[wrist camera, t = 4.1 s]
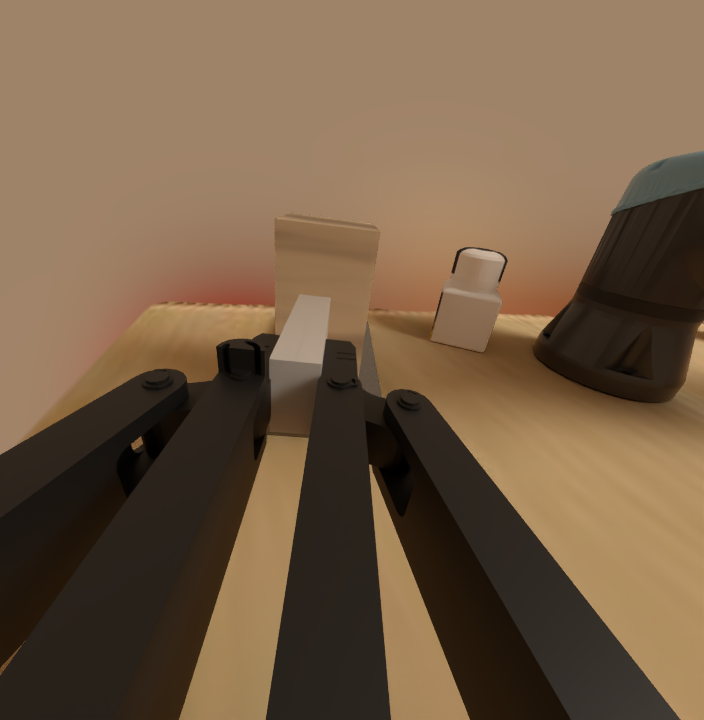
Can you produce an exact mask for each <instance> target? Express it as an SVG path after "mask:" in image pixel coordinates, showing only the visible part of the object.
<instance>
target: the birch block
mask: <svg viewBox="0 0 704 720" xmlns="http://www.w3.org/2000/svg"><path fill="white" fill-rule="evenodd" d="M379 236H380V231H379V230H378V229H377V228H376V227H375V226H374V225H373V224H372V223H366V222H358V221H350V220H341V219H334V218H326V217H318V216H310V215H302V214H294V213H290V214H287V215H285V216H281V217H278V218H275V335H281V333H282V331H283V329H284V326H285V324H286V322H287V320H288V318H289V316H290V314H291V312H292V309H293V307H294V305H295V303H296V301H297V299H298V297H299V295H300V294H302V295H311V296H320V297H329V298H331V302H330V313H329V324H328V335H327V339H332V340H341V341H350V342H351V343H352V344H353V345H354V346H355V347H356V357H357V371H358V378H359V371H360V364H361V358H362V351H363V344H364V338H365V331H366V324H367V318H368V311H369V304H370V297H371V291H372V284H373V277H374V271H375V264H376V257H377V251H378V244H379Z"/></svg>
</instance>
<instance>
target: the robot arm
mask: <svg viewBox="0 0 704 720" xmlns="http://www.w3.org/2000/svg"><path fill="white" fill-rule="evenodd" d="M611 216H612V218H611V220H610V222H609V224H608V226H607V228H606V230H605V233H604V235H603V237H602V239H601V241H600V243H599V245H598V247H597V249H596V252H595V254H594V256H593V258H592V260H591V262H590V264H589V266H588V268H587V270H586V272H585V274H584V276H583V278H582V280H581V282H580V284H579V287H578V289H577V291H576V293H575V294H574V296H573V298H572V299H571V301H570V302H569V303H568V304H567V305H566V306H565V307H564V308H563V309H562V310H561V311H560V312H559V313H558V314H557V315H556V316H555V318H554V319H553V320H552V321H551V322H550V323H549V324H548V325H547V326H546V327H545V328H544V329H543V330H542V331H541V333H540V334H539V336H538V338H537V340H536V343H535V345H534V347H533V351H534V353H535V355H536V356H537V357H538V358H539V359H540V360H541V361H542V362H543V363H544V364H546V365H547V366H549V367H550V368H552V369H553V370H555V371H557V372H558V373H560V374H562V375H564V376H566V377H568V378H570V379H572V380H574V381H576V382H579V383H581V384H583V385H586V386H588V387H591V388H594V389H597V390H599V391H602V392H606V393H609V394H612V395H616V396H619V397H623V398H628V399H633V400H638V401H645V402H666V401H669V400H671V399H673V397H674V396H675V395H676V393H677V392H678V391H679V390H680V388H681V387H682V386H683V384H684V382H685V380H686V376H687V372H688V367H689V363H690V358H691V354H692V349H693V345H694V340H695V336H696V332H697V330H698V328H699V326H700V325H701V323H702V322H703V321H704V151H701V152H694V153H689V154H684V155H679V156H674V157H670V158H666V159H663V160H660V161H657V162H654V163H652V164H650V165H648V166H646V167H645V168H643V169H642V170H640V171H639V172H638V173H637V174H636V175H635V176H634V177H633V178H632V180H631V181H630V183H629V185H628V187H627V189H626V190H625V192H624V194H623V196H622V198H621V200H620V201H619V203H618V205H617V207H616V208H615V209H614V210H613V211H612V213H611ZM330 302H331V298H329V297H320V296H311V295H302V294H300V295H299V297H298V299H297V301H296V303H295V305H294V307H293V309H292V312H291V314H290V316H289V318H288V320H287V322H286V324H285V326H284V329H283V331H282V333H281V335H274V334H264V333H262V334H260V335H258V336H256V337H254V338H253V339H252V340H251V339H233V340H228V341H225V342H222V343H220V344H219V345H217V346H216V349H217V358H218V368H219V372H218V374H217V375H216V377H215V378H214V379H213V380H212V381H206V382H196V383H187V378H186V376H185V375H184V373H183V372H180V371H178V370H173V369H155V370H153V371H148V372H145V373H143V374H140V375H138V376H136V377H134V378H132V379H131V380H129V381H127V382H126V383H124V384H122V385H120V386H119V387H117V388H115V389H113V390H112V391H110V392H108V393H107V394H105V395H103V396H101V397H100V398H98V399H96V400H94V401H93V402H91V403H89V404H88V405H86V406H84V407H82V408H81V409H79V410H77V411H75V412H74V413H72V414H70V415H68V416H67V417H65V418H63V419H62V420H60V421H58V422H56V423H55V424H53V425H51V426H49V427H48V428H46V429H44V430H43V431H41V432H39V433H37V434H36V435H34V436H32V437H30V438H29V439H27V440H25V441H23V442H22V443H20V444H18V445H17V446H15V447H13V448H11V449H10V450H8V451H6V452H5V453H3V454H1V455H0V667H1V666H2V665H3V664H4V663H5V662H6V661H7V660H8V659H9V658H10V657H11V655H12V654H13V653H14V652H15V651H16V650H17V649H18V648H19V647H20V646H21V645H22V644H23V643H24V644H23V645H22V646H21V648H20V649H19V650H18V652H17V653H16V655H15V656H14V657H13V659H12V660H11V662H10V663H9V664H8V666H7V667H6V669H5V670H4V671H3V673H2V674H1V675H0V720H179V718H180V714H181V711H182V708H183V705H184V702H185V699H186V695H187V692H188V689H189V686H190V683H191V680H192V677H193V673H194V670H195V667H196V664H197V661H198V658H199V654H200V651H201V648H202V645H203V642H204V639H205V635H206V632H207V629H208V626H209V623H210V620H211V616H212V613H213V610H214V607H215V604H216V601H217V598H218V594H219V591H220V588H221V585H222V582H223V579H224V575H225V572H226V569H227V566H228V563H229V560H230V556H231V553H232V550H233V547H234V544H235V541H236V538H237V534H238V531H239V528H240V525H241V522H242V519H243V515H244V512H245V509H246V506H247V503H248V500H249V496H250V493H251V490H252V487H253V484H254V481H255V477H256V474H257V471H258V468H259V465H260V462H261V459H262V455H263V452H264V449H265V446H266V438H267V437H266V430H267V427H268V424H269V421H270V432H281V433H294V434H306V435H309V442H308V448H307V455H306V461H305V468H304V474H303V481H302V487H301V494H300V500H299V507H298V513H297V520H296V526H295V533H294V539H293V546H292V552H291V559H290V565H289V572H288V578H287V585H286V591H285V598H284V604H283V611H282V617H281V624H280V630H279V637H278V643H277V650H276V656H275V663H274V669H273V676H272V682H271V689H270V695H269V702H268V709H267V715H266V720H391V715H390V704H389V692H388V680H387V669H386V657H385V646H384V634H383V623H382V611H381V599H380V588H379V576H378V565H377V553H376V542H375V530H374V518H373V507H372V495H371V484H370V472H369V464H371V465H372V469H373V473H374V475H375V478H376V481H377V483H378V486H379V488H380V491H381V493H382V496H383V498H384V501H385V504H386V506H387V509H388V511H389V514H390V516H391V519H392V521H393V524H394V527H395V529H396V532H397V534H398V537H399V539H400V542H401V544H402V547H403V550H404V552H405V555H406V557H407V560H408V562H409V565H410V567H411V570H412V573H413V575H414V578H415V580H416V583H417V585H418V588H419V590H420V593H421V596H422V598H423V601H424V603H425V606H426V608H427V611H428V613H429V616H430V618H431V621H432V624H433V626H434V629H435V631H436V634H437V636H438V639H439V641H440V644H441V647H442V649H443V652H444V654H445V657H446V659H447V662H448V664H449V667H450V670H451V672H452V675H453V677H454V680H455V682H456V685H457V687H458V690H459V693H460V695H461V698H462V700H463V703H464V705H465V708H466V710H467V713H468V716H469V718H470V720H680V719H679V717H678V716H677V715H676V713H675V712H674V711H673V710H672V708H671V707H670V706H669V705H668V703H667V702H666V701H665V699H664V698H663V697H662V696H661V694H660V693H659V692H658V691H657V689H656V688H655V687H654V685H653V684H652V683H651V682H650V680H649V679H648V678H647V677H646V675H645V674H644V673H643V671H642V670H641V669H640V668H639V666H638V665H637V664H636V663H635V661H634V660H633V659H632V657H631V656H630V655H629V654H628V652H627V651H626V650H625V649H624V647H623V646H622V645H621V643H620V642H619V641H618V640H617V638H616V637H615V636H614V635H613V633H612V632H611V631H610V629H609V628H608V627H607V626H606V624H605V623H604V622H603V621H602V619H601V618H600V617H599V615H598V614H597V613H596V612H595V610H594V609H593V608H592V607H591V605H590V604H589V603H588V601H587V600H586V599H585V598H584V596H583V595H582V594H581V593H580V591H579V590H578V589H577V588H576V586H575V585H574V584H573V582H572V581H571V580H570V579H569V577H568V576H567V575H566V574H565V572H564V571H563V570H562V568H561V567H560V566H559V565H558V563H557V562H556V561H555V560H554V558H553V557H552V556H551V554H550V553H549V552H548V551H547V549H546V548H545V547H544V546H543V544H542V543H541V542H540V540H539V539H538V538H537V537H536V535H535V534H534V533H533V532H532V530H531V529H530V528H529V526H528V525H527V524H526V523H525V521H524V520H523V519H522V518H521V516H520V515H519V514H518V512H517V511H516V510H515V509H514V507H513V506H512V505H511V504H510V502H509V501H508V500H507V498H506V497H505V496H504V495H503V493H502V492H501V491H500V490H499V488H498V487H497V486H496V484H495V483H494V482H493V481H492V479H491V478H490V477H489V476H488V474H487V473H486V472H485V470H484V469H483V468H482V467H481V465H480V464H479V463H478V462H477V460H476V459H475V458H474V456H473V455H472V454H471V453H470V451H469V450H468V449H467V448H466V446H465V445H464V444H463V442H462V441H461V440H460V439H459V437H458V436H457V435H456V434H455V432H454V431H453V430H452V428H451V427H450V426H449V425H448V423H447V422H446V421H445V420H444V418H443V417H442V416H441V414H440V413H439V412H438V411H437V409H436V408H435V407H434V406H433V404H432V403H431V402H430V401H429V400H428V399H427V398H426V397H425V396H423V395H421V394H419V393H418V392H415V391H412V390H404V389H399V390H394V391H392V392H390V393H388V395H387V397H386V399H385V398H382V397H378V396H375V395H373V394H370V393H369V392H367V391H365V390H364V389H363V388H362V384H361V381H360V380H359V379H358V371H357V357H356V347H355V346H354V345H353V344H352V343H351V342H350V341H341V340H332V339H327V335H328V324H329V313H330ZM140 436H141V437H142V441H143V444H142V445H141V446H140V447H139V448H137V449H135V450H133V449H132V447H131V443H133V442H134V441H135V440H136V439H138V438H139V437H140ZM25 640H26V641H25ZM24 641H25V642H24Z"/></svg>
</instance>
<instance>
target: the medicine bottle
mask: <svg viewBox="0 0 704 720" xmlns="http://www.w3.org/2000/svg"><path fill="white" fill-rule="evenodd" d="M506 263H507V258H506V256H504V255H503V254H502V253H500V252H496V251H493V250H489V249H483V248H474V247H465V248H463V249H460V250H458V251H457V254H456V257H455V262H454V265H453V269H452V272H451V276H450V279H452V280H450V279H447V280H445V281H444V285H443V289H442V293H441V297H440V300H439V304H438V308H437V312H436V316H435V319H434V323H433V327H432V331H431V335H430V340H431V341H433V342H437V343H442V344H446V345H450V346H455V347H459V348H463V349H468V350H472V351H476V352H481V353H483V352H484V351H485V349H486V346H487V343H488V340H489V338H490V335H491V332H492V330H493V327H494V324H495V321H496V319H497V316H498V313H499V311H500V307H501V305H502V300H501V298H500V295H499V293H498V291H497V289H496V288H498V286H499V283H500V281H501V278H502V275H503V272H504V269H505V266H506Z"/></svg>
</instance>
